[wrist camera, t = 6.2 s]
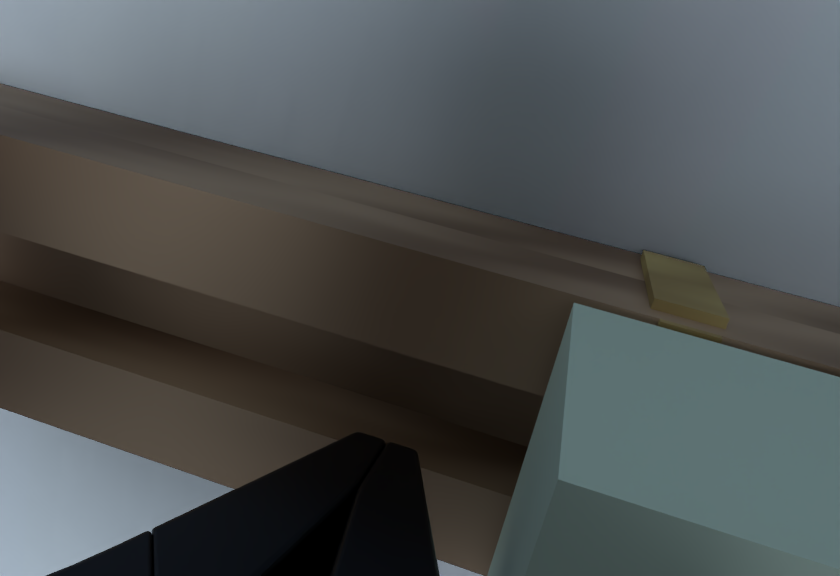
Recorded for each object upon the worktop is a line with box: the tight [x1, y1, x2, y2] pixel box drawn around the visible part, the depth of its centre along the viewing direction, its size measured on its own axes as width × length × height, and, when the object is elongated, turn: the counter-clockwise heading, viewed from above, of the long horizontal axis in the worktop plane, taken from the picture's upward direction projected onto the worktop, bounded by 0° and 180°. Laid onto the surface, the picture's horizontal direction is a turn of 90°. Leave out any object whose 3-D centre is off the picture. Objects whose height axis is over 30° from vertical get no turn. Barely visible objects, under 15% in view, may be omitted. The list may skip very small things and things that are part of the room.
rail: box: [0, 84, 840, 576], centre depth 11 cm, size 26×5×4 cm, turn 78°
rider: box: [487, 303, 840, 576], centre depth 9 cm, size 4×5×6 cm
